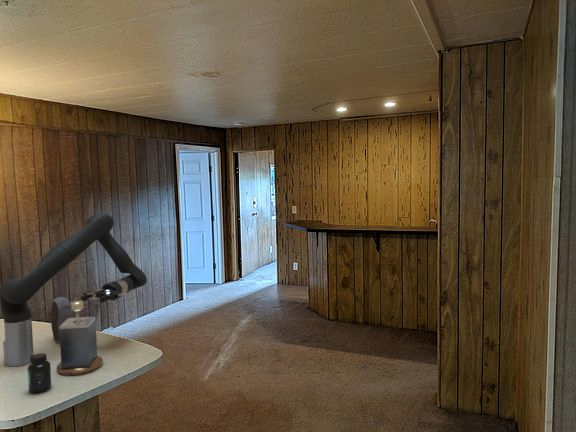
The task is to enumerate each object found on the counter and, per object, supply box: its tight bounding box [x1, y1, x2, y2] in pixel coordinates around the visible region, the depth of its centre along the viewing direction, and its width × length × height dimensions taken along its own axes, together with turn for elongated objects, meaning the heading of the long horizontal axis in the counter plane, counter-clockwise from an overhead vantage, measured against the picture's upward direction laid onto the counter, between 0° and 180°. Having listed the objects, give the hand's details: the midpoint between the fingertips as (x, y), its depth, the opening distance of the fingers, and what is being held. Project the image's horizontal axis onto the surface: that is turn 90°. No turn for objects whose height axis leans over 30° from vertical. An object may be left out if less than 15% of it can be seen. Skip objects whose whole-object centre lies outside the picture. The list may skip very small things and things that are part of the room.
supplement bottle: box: [27, 352, 52, 395], centre depth 151 cm, size 7×7×12 cm
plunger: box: [70, 300, 85, 322], centre depth 168 cm, size 7×7×22 cm
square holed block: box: [56, 316, 104, 377], centre depth 169 cm, size 16×16×18 cm
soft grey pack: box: [50, 296, 76, 343], centre depth 197 cm, size 15×8×20 cm, turn 42°
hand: (91, 299), depth 176 cm, fingers open, 8 cm apart
